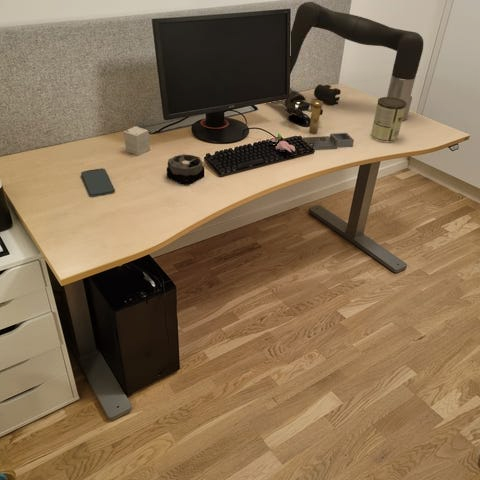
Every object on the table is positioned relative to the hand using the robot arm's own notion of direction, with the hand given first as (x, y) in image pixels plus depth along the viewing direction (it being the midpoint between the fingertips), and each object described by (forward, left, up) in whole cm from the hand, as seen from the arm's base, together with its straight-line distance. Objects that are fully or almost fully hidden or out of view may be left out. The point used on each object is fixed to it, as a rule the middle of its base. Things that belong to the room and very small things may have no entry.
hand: (312, 113), depth 178 cm
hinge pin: (0, +3, -7) cm, 7 cm away
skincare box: (+67, +11, -7) cm, 68 cm away
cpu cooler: (+53, +32, -7) cm, 62 cm away
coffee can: (-26, +11, -7) cm, 29 cm away
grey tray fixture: (-1, +14, -7) cm, 15 cm away
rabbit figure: (+17, +17, -7) cm, 25 cm away
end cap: (-18, -30, -7) cm, 36 cm away
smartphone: (+79, +33, -7) cm, 86 cm away
